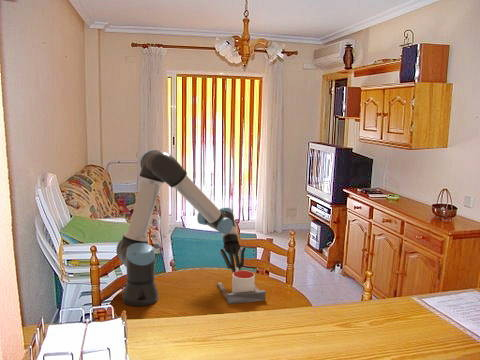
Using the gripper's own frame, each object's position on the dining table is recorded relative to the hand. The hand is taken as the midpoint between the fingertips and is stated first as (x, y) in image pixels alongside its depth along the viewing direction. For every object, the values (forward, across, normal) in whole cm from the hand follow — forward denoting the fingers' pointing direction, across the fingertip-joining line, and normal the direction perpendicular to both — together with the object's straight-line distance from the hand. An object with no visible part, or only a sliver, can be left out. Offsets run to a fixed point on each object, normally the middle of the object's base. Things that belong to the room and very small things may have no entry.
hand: (238, 281), depth 193 cm
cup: (+7, 0, -1) cm, 7 cm away
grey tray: (+5, 0, +1) cm, 5 cm away
